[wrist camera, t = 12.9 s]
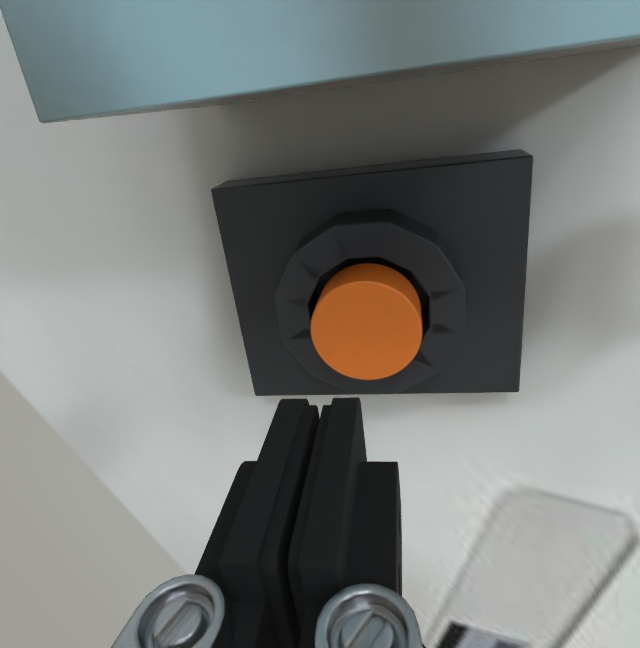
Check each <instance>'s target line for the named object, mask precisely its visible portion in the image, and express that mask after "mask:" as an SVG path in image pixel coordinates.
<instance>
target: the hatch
mask: <svg viewBox="0 0 640 648" xmlns="http://www.w3.org/2000/svg"><path fill="white" fill-rule="evenodd" d="M0 8H1V11H2V14H3V17H4V20H5V23H6V26H7V29H8V31H9V34H10V37H11V40H12V43H13V46H14V49H15V52H16V55H17V58H18V61H19V63H20V66H21V69H22V72H23V75H24V78H25V81H26V84H27V87H28V90H29V93H30V95H31V98H32V101H33V104H34V107H35V110H36V113H37V116H38V119H39V121H40V122H41V123H51V122H61V121H69V120H76V119H83V118H90V117H97V116H104V115H111V114H118V113H125V112H132V111H139V110H146V109H153V108H160V107H167V106H174V105H180V104H187V103H194V102H201V101H208V100H215V99H222V98H229V97H236V96H243V95H250V94H257V93H264V92H271V91H278V90H285V89H292V88H299V87H306V86H313V85H320V84H327V83H334V82H341V81H347V80H354V79H361V78H368V77H375V76H382V75H389V74H396V73H403V72H410V71H417V70H424V69H431V68H438V67H445V66H452V65H459V64H466V63H473V62H480V61H487V60H494V59H501V58H508V57H514V56H521V55H528V54H535V53H542V52H549V51H556V50H563V49H570V48H577V47H584V46H591V45H598V44H605V43H612V42H619V41H626V40H633V39H640V0H0Z"/></svg>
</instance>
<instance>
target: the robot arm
mask: <svg viewBox="0 0 640 648" xmlns="http://www.w3.org/2000/svg"><path fill="white" fill-rule="evenodd" d="M111 648H426V647H425V646H424V645H423V644H422V640H421V634H420V629H419V625H418V622H417V619H416V617H415V614H414V611H413V610H412V608H411V607H410V606H409V604H408V603H407V602H406V600H405V599H404V598H403V597H402V531H401V500H400V484H399V470H398V462H367V457H366V448H365V439H364V429H363V420H362V411H361V402H360V398H333V400H332V404H331V405H324V406H323V408H322V412H321V416H320V418H319V412H318V408H317V406H316V405H309V402H308V400H307V399H281V400H280V402H279V404H278V407H277V409H276V412H275V415H274V417H273V420H272V423H271V425H270V428H269V431H268V433H267V436H266V439H265V441H264V444H263V446H262V449H261V452H260V454H259V457H258V460H257V461H244V462H243V463H242V464H241V466H240V467H239V469H238V471H237V474H236V476H235V479H234V481H233V483H232V486H231V488H230V491H229V493H228V495H227V498H226V500H225V503H224V505H223V507H222V510H221V512H220V515H219V517H218V519H217V522H216V524H215V527H214V529H213V531H212V534H211V536H210V539H209V541H208V543H207V546H206V548H205V551H204V553H203V555H202V558H201V560H200V562H199V565H198V567H197V570H196V572H195V574H194V575H183V576H179V577H175V578H172V579H170V580H169V581H166V582H164V583H162V584H161V585H159V586H158V587H157V588H155V589H154V590H153V591H152V592H150V593H149V594H148V595H147V596H146V597H145V598H144V599H143V601H142V602H141V603H140V604H139V606H138V607H137V608H136V610H135V611H134V613H133V614H132V616H131V617H130V619H129V620H128V622H127V624H126V625H125V626H124V628H123V629H122V631H121V633H120V634H119V636H118V637H117V639H116V640H115V642H114V643H113V645H112V647H111Z"/></svg>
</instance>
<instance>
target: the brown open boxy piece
mask: <svg viewBox="0 0 640 648" xmlns="http://www.w3.org/2000/svg"><path fill="white" fill-rule="evenodd" d="M634 46H640V39H633V40H626V41H619V42H612V43H605V44H598V45H591V46H584V47H577V48H570V49H563V50H556V51H549V52H542V53H535V54H528V55H521V56H514V57H508V58H501V59H494V60H487V61H480V62H473V63H466V64H459V65H452V66H445V67H438V68H431V69H424V70H417V71H410V72H403V73H396V74H389V75H382V76H375V77H368V78H361V79H354V80H347V81H341V82H334V83H327V84H320V85H313V86H306V87H299V88H292V89H285V90H278V91H271V92H264V93H257V94H250V95H243V96H236V97H229V98H222V99H215V100H208V101H201V102H194V103H187V104H180V105H174V106H167V107H160V108H153V109H146V110H139V111H132V112H125V113H118V114H111V115H104V116H97V117H90V118H99V117H109V116H118V115H128V114H138V113H147V112H157V111H167V110H176V109H186V108H196V107H205V106H215V105H223V104H230V103H237V102H244V101H251V100H258V99H265V98H272V97H279V96H287V95H294V94H301V93H308V92H315V91H322V90H329V89H336V88H343V87H350V86H358V85H365V84H372V83H379V82H386V81H393V80H400V79H407V78H414V77H421V76H428V75H436V74H443V73H450V72H457V71H464V70H471V69H478V68H485V67H492V66H499V65H506V64H514V63H521V62H528V61H535V60H542V59H549V58H556V57H563V56H570V55H577V54H584V53H592V52H599V51H606V50H613V49H620V48H627V47H634ZM83 119H89V118H83ZM76 120H80V119H76Z"/></svg>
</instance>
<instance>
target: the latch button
mask: <svg viewBox="0 0 640 648" xmlns="http://www.w3.org/2000/svg"><path fill="white" fill-rule="evenodd" d="M311 337H312V341H313V344H314V346H315V348H316V350H317V352H318V354H319V355H320V357H321V358H322V359H323V360H324V361H325V362H326V364H328V365H329V366H330V367H331V368H333V369H334V370H336V371H337V372H339V373H341V374H343V375H345V376H348V377H351V378H355V379H361V380H377V379H382V378H386V377H389V376H391V375H393V374H396V373H397V372H399V371H401V370H402V369H403V368H405V367H406V366H407V365H408V364H409V363H410V362H411V361H412V360H413V358H414V357H415V355H416V354H417V352H418V350H419V347H420V344H421V340H422V316H421V305H420V300H419V297H418V294H417V292H416V290H415V288H414V287H413V285H412V284H411V283H410V282H409V280H408V279H407V278H405V277H404V276H403V275H402V274H400V273H399V272H398V271H396V270H394V269H392V268H389V267H387V266H384V265H380V264H373V263H364V264H357V265H353V266H350V267H347V268H345V269H343V270H341V271H339V272H338V273H337V274H335V275H334V276H333V277H332V278H331V279H330V280H329V281H328V282H327V284H326V285H325V287H324V288H323V290H322V293H321V295H320V297H319V300H318V302H317V305H316V307H315V310H314V312H313V315H312V319H311Z"/></svg>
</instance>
